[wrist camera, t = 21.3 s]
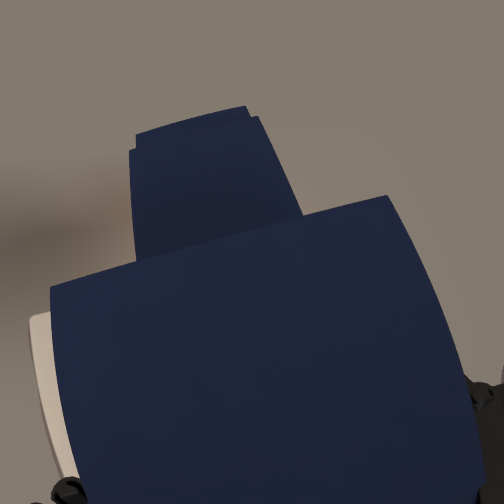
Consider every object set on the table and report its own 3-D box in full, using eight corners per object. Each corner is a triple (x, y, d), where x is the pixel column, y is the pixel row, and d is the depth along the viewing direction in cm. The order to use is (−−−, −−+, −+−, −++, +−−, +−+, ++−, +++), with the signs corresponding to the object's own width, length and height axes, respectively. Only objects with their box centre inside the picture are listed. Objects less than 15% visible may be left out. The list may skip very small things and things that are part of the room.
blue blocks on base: (361, 460, 13) (496, 538, 2) (222, 500, 13) (156, 634, 2) (253, 151, 22) (244, 1, 12) (150, 179, 22) (90, 42, 11)
